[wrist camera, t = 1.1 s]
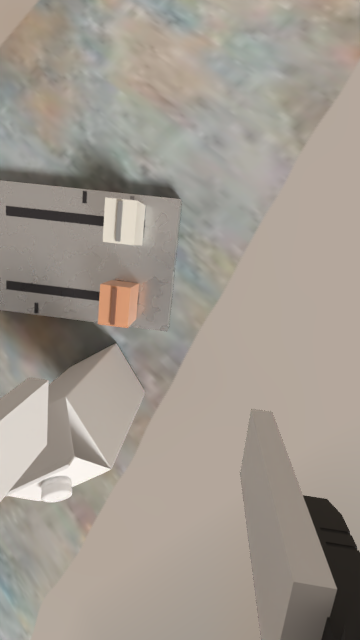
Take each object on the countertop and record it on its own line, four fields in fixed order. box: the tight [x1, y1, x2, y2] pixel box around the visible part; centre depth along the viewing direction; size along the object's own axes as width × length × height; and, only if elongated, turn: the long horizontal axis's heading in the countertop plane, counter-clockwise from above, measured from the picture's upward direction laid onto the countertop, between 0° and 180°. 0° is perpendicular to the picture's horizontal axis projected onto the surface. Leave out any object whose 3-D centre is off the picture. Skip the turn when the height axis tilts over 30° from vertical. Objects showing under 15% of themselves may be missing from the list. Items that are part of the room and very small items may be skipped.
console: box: [0, 180, 182, 331], centre depth 38 cm, size 22×14×2 cm, turn 84°
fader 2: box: [98, 280, 139, 328], centre depth 35 cm, size 3×4×4 cm
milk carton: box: [5, 343, 145, 502], centre depth 33 cm, size 7×7×19 cm
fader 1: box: [103, 197, 146, 245], centre depth 34 cm, size 3×4×4 cm
